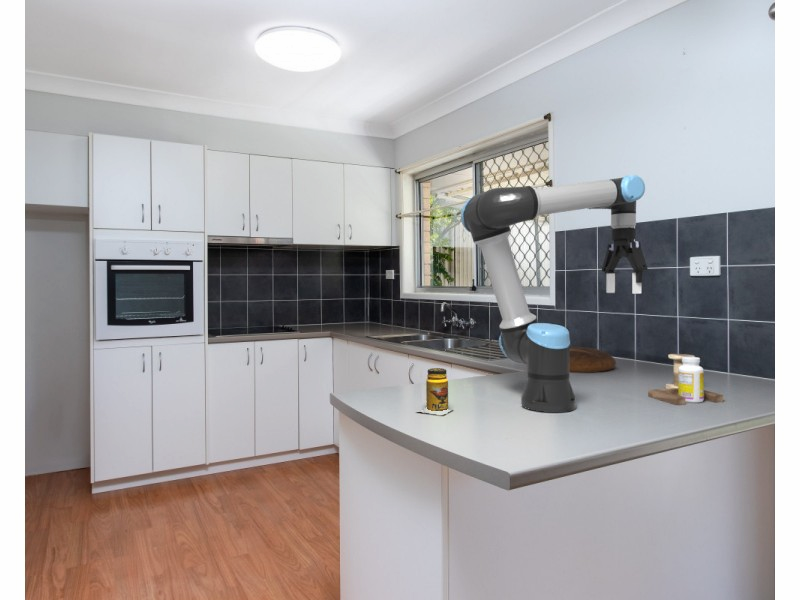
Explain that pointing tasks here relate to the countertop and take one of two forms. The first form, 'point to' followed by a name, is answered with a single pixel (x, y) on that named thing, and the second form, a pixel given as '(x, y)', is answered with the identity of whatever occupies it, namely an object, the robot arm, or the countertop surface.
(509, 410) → the countertop surface
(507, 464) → the countertop surface
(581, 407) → the countertop surface
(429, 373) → the condiment
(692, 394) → the supplement bottle
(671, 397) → the notch board
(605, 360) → the bread
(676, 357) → the bobbin
